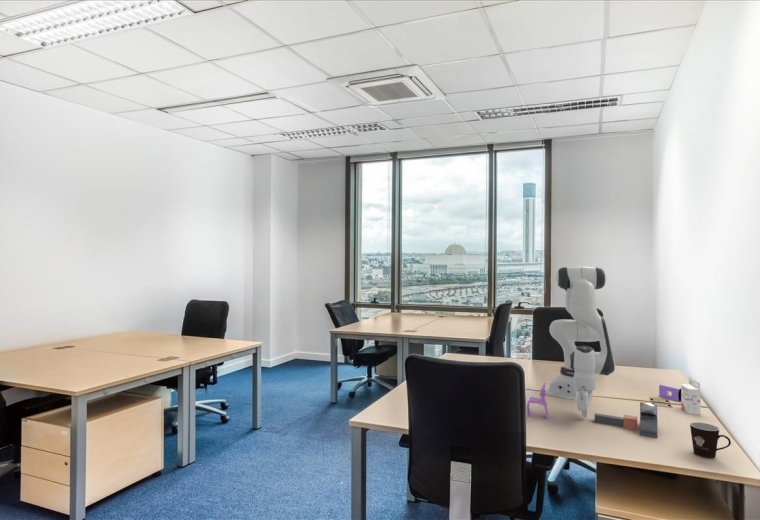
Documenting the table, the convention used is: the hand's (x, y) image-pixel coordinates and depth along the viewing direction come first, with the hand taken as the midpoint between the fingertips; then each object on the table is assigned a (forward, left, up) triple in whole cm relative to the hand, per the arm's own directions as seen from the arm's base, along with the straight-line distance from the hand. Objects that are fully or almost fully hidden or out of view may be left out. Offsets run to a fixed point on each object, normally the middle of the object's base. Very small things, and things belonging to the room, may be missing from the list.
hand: (584, 415), depth 200 cm
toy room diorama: (+36, +58, -2) cm, 69 cm away
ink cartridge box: (+41, +37, -2) cm, 55 cm away
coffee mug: (+42, -19, -2) cm, 46 cm away
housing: (+24, 0, -2) cm, 24 cm away
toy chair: (-18, -6, -2) cm, 19 cm away
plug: (+12, 0, -2) cm, 12 cm away
